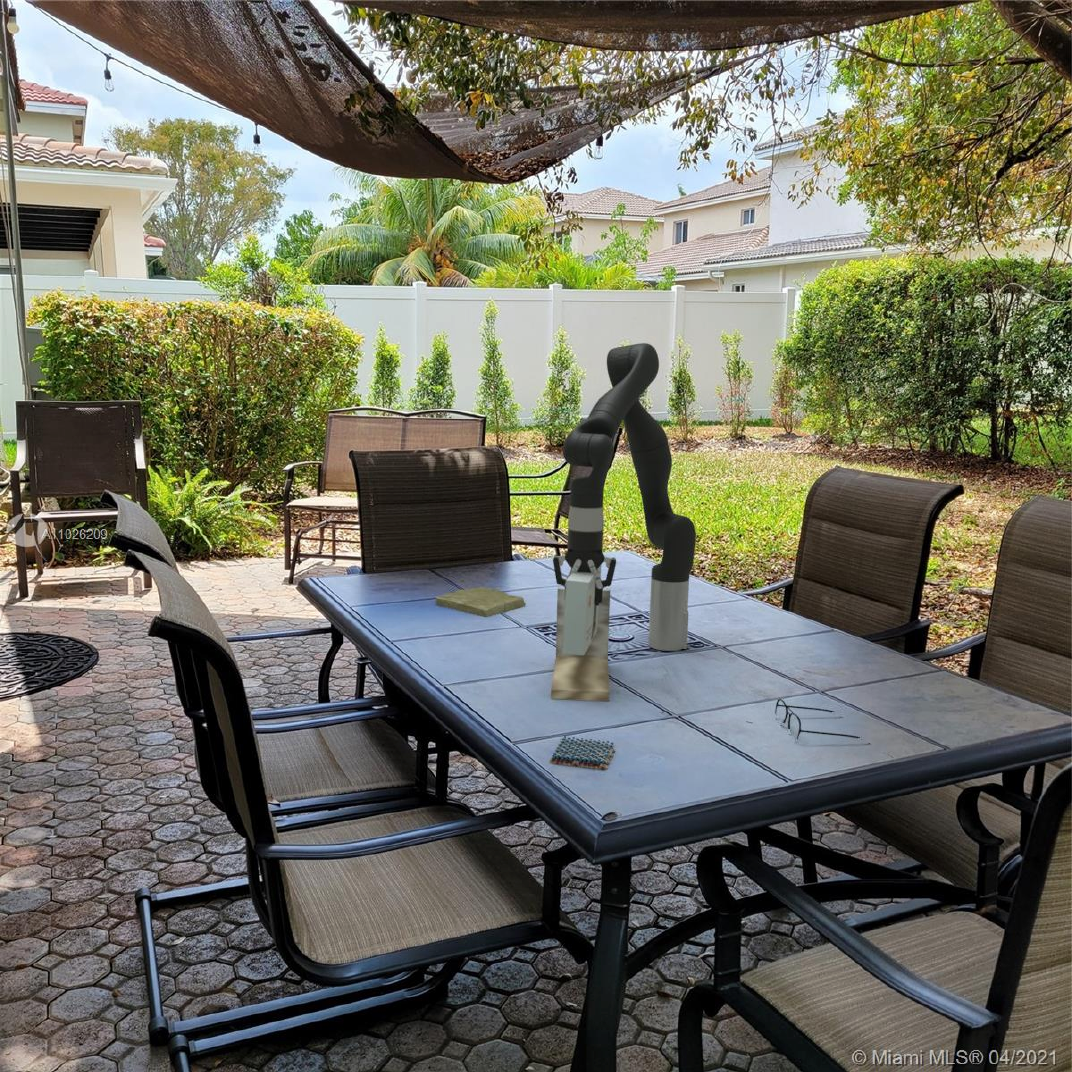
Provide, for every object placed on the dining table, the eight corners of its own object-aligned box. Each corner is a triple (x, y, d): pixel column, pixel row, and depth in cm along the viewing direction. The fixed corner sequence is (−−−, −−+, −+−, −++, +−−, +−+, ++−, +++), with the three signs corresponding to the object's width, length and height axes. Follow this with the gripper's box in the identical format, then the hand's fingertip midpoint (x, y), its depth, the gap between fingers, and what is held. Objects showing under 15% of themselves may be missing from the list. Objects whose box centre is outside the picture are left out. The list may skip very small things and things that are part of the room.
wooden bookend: (607, 665, 229) (610, 589, 226) (609, 701, 205) (612, 616, 202) (555, 662, 230) (557, 587, 227) (551, 698, 205) (553, 614, 202)
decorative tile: (486, 619, 269) (486, 606, 269) (434, 606, 282) (434, 594, 281) (530, 607, 284) (530, 595, 283) (479, 596, 296) (479, 584, 296)
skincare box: (586, 656, 205) (589, 581, 202) (560, 654, 206) (562, 580, 203) (599, 630, 225) (602, 562, 222) (576, 628, 226) (578, 560, 223)
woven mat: (617, 750, 180) (617, 740, 180) (606, 773, 170) (607, 762, 169) (561, 744, 182) (561, 733, 182) (547, 766, 172) (548, 755, 172)
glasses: (772, 719, 198) (777, 695, 197) (843, 727, 199) (848, 704, 198) (796, 747, 184) (800, 721, 183) (872, 755, 185) (877, 730, 184)
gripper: (619, 525, 214) (616, 601, 217) (552, 523, 215) (550, 599, 218) (619, 531, 207) (616, 609, 210) (551, 528, 208) (549, 607, 211)
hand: (583, 603), depth 214 cm, fingers closed on skincare box, 5 cm apart
